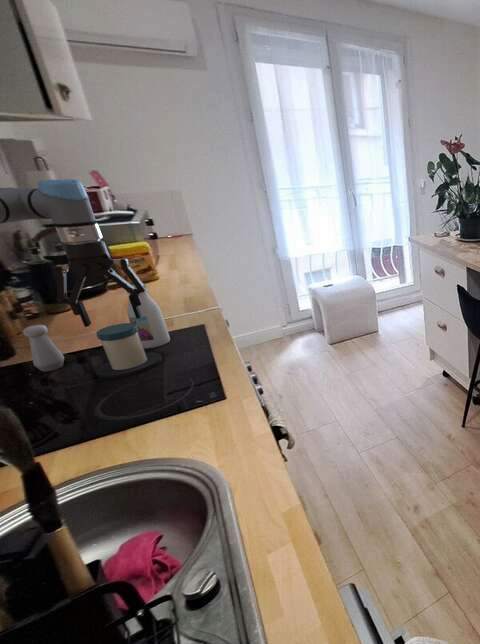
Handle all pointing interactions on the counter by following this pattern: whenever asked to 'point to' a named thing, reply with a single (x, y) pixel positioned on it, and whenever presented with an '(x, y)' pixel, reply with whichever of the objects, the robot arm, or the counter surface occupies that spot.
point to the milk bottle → (149, 322)
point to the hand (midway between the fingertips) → (114, 320)
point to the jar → (125, 352)
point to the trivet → (109, 373)
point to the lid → (117, 331)
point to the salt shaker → (43, 349)
